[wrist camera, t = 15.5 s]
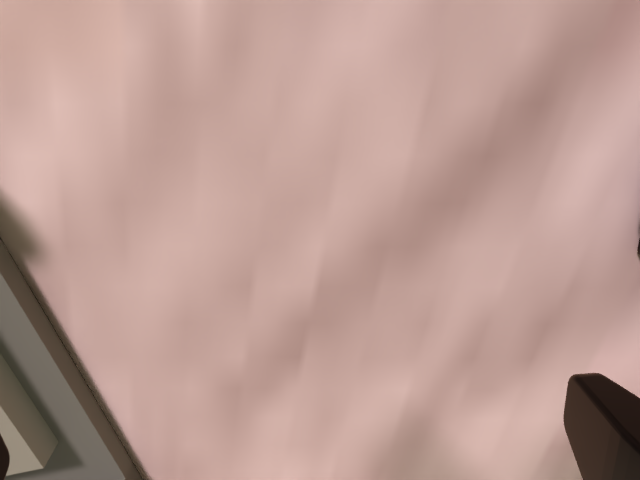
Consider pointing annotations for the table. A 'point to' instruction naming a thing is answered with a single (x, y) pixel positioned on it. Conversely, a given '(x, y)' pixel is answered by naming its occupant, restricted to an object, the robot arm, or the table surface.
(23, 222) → the table surface
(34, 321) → the grey walled tray
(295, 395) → the table surface
